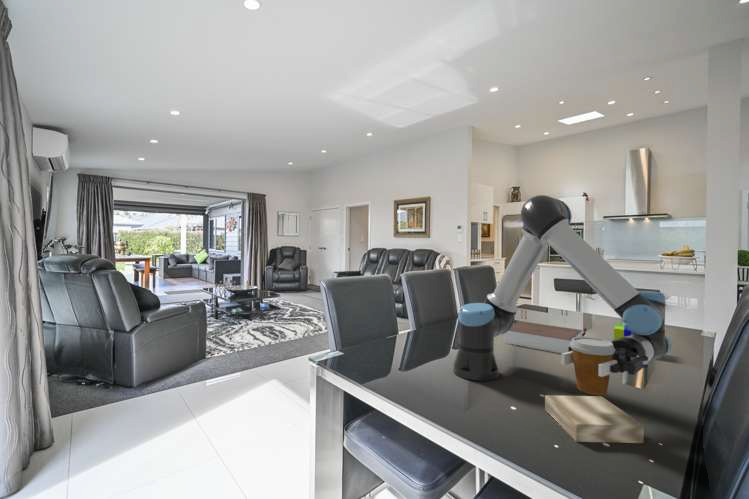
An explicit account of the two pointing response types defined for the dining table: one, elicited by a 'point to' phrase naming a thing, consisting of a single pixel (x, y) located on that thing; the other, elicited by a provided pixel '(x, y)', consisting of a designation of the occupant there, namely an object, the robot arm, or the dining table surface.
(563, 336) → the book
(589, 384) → the disposable coffee cup
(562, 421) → the wooden base block
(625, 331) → the puzzle toy
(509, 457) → the dining table surface
